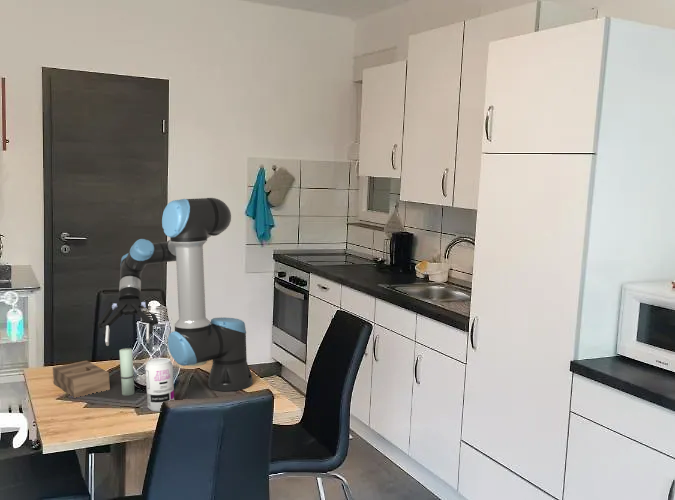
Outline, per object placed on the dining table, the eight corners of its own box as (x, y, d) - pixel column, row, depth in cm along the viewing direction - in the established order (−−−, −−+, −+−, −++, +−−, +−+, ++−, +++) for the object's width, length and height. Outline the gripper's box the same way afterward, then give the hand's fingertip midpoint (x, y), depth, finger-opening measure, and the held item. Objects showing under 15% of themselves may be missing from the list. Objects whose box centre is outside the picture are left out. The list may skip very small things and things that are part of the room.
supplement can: (161, 401, 219) (158, 356, 217) (180, 405, 215) (177, 359, 213) (142, 409, 212) (139, 362, 210) (161, 413, 208) (158, 366, 206)
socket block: (109, 389, 231) (108, 372, 231) (74, 398, 224) (73, 380, 223) (87, 376, 246) (86, 360, 246) (53, 383, 239) (52, 367, 238)
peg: (137, 393, 227) (134, 349, 225) (124, 396, 224) (122, 352, 222) (131, 390, 230) (129, 347, 228) (119, 393, 227) (116, 349, 226)
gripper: (165, 295, 252) (165, 345, 239) (95, 299, 247) (91, 350, 235) (164, 284, 246) (163, 334, 233) (92, 287, 242) (87, 339, 229)
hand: (127, 342), depth 234 cm, fingers open, 13 cm apart
